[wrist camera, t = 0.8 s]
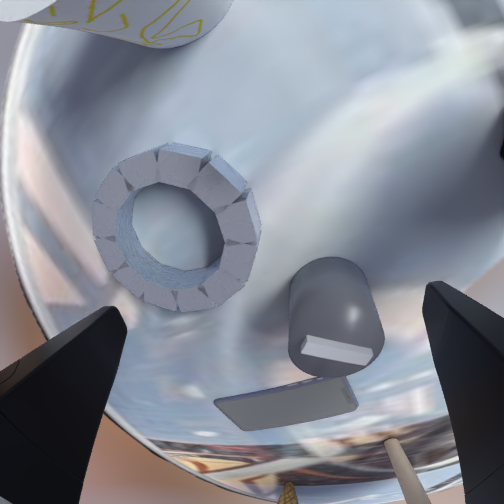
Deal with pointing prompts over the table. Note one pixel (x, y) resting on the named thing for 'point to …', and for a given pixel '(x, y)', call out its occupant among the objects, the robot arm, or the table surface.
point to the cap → (332, 319)
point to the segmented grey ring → (204, 187)
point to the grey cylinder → (124, 18)
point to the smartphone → (289, 404)
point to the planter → (405, 474)
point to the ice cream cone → (288, 495)
